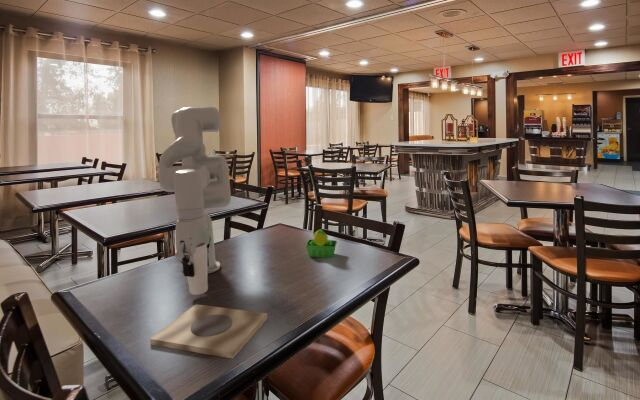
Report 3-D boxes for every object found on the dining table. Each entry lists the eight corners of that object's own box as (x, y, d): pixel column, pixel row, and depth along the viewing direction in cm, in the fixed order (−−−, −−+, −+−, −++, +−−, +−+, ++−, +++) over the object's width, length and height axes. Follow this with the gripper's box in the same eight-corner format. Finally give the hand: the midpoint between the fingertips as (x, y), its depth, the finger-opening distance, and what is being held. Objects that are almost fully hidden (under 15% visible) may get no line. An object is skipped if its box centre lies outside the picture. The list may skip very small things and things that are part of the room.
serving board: (150, 344, 90) (149, 337, 89) (195, 309, 107) (195, 303, 106) (233, 358, 83) (232, 351, 83) (267, 318, 100) (267, 312, 100)
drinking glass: (190, 287, 117) (185, 240, 113) (212, 285, 117) (208, 239, 114) (184, 297, 110) (179, 248, 107) (208, 296, 111) (203, 247, 107)
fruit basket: (337, 252, 150) (337, 225, 148) (334, 260, 142) (333, 231, 139) (309, 251, 152) (308, 224, 150) (304, 259, 144) (303, 230, 142)
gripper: (197, 205, 117) (202, 259, 121) (159, 220, 101) (166, 282, 105) (218, 206, 115) (223, 261, 119) (183, 222, 99) (189, 285, 103)
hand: (196, 270), depth 112 cm, fingers closed on drinking glass, 6 cm apart
